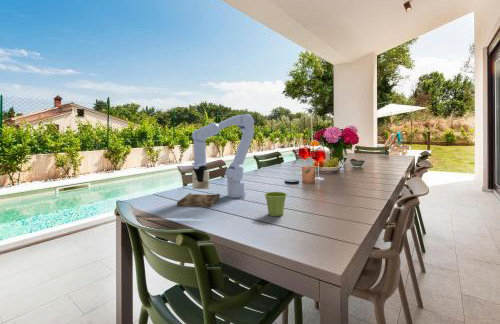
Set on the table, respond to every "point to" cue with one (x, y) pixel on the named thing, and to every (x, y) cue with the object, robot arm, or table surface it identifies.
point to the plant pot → (275, 203)
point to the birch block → (201, 184)
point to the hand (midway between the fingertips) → (200, 181)
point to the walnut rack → (210, 202)
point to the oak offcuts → (197, 198)
